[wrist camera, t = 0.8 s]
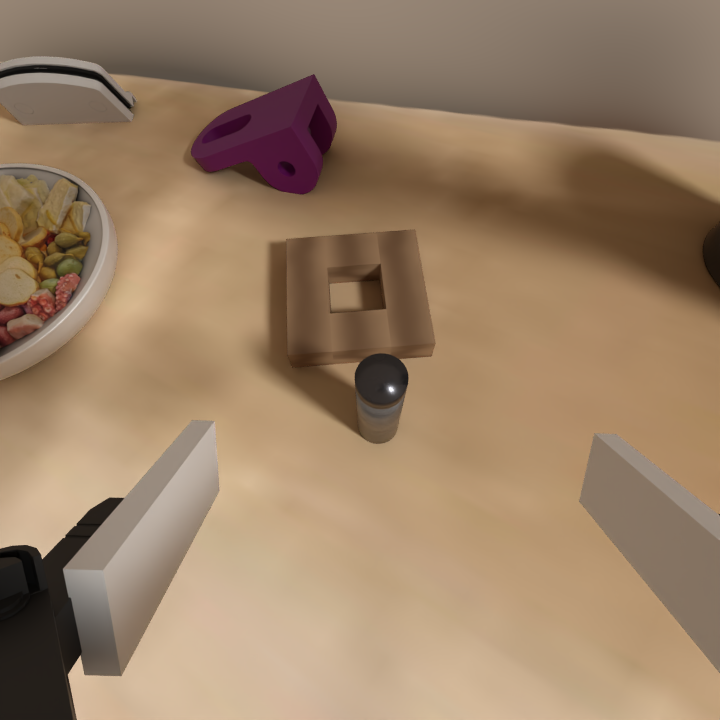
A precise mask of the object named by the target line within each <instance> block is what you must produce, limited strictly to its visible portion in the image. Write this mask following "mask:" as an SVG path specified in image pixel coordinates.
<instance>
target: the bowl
mask: <svg viewBox="0 0 720 720" xmlns="http://www.w3.org/2000/svg"><path fill="white" fill-rule="evenodd" d="M117 255H118V244H117V235H116V231H115V227H114V224H113V221H112V218H111V216H110V214H109V212H108V210H107V208H106V207H105V205H104V204H103V202H102V201H101V199H100V198H99V196H98V195H97V194H96V193H95V192H94V190H93V189H92V188H91V187H90V186H88V185H87V184H86V183H85V182H84V181H82V180H81V179H79V178H77V177H76V176H74V175H72V174H70V173H68V172H65V171H63V170H60V169H57V168H53V167H49V166H44V165H37V164H25V163H11V164H0V380H3V379H6V378H8V377H11V376H13V375H15V374H18V373H20V372H22V371H24V370H26V369H28V368H30V367H32V366H33V365H35V364H37V363H39V362H40V361H42V360H44V359H45V358H47V357H48V356H50V355H51V354H53V353H54V352H56V351H57V350H58V349H60V348H61V347H62V346H63V345H65V344H66V343H67V342H68V341H69V340H71V339H72V338H73V337H74V336H75V335H76V334H77V333H78V332H79V331H80V330H81V329H82V328H83V327H84V326H85V325H86V323H87V322H88V321H89V320H90V319H91V317H92V316H93V315H94V313H95V312H96V311H97V309H98V308H99V306H100V305H101V303H102V301H103V300H104V298H105V296H106V294H107V292H108V290H109V288H110V285H111V282H112V280H113V276H114V273H115V269H116V264H117Z"/></svg>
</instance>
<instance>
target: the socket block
mask: <svg viewBox="0 0 720 720" xmlns="http://www.w3.org/2000/svg"><path fill="white" fill-rule="evenodd" d="M286 257H287V356H288V358H289V361H290V363H291V366H292V367H304V366H317V365H329V364H342V363H354V362H361V361H362V360H363V359H365V358H366V357H368V356H370V355H373V354H378V353H385V354H390V355H392V356H394V357H396V358H398V359H404V358H416V357H428V356H432V353H433V350H434V347H435V338H434V332H433V327H432V321H431V315H430V310H429V304H428V299H427V293H426V287H425V282H424V276H423V271H422V265H421V260H420V254H419V248H418V243H417V237H416V232H415V230H403V231H390V232H376V233H363V234H349V235H336V236H322V237H309V238H295V239H286ZM369 280H380V284H381V292H382V300H383V309H381V310H368V311H356V312H343V313H331V305H330V288H329V283H342V282H356V281H369Z"/></svg>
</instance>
